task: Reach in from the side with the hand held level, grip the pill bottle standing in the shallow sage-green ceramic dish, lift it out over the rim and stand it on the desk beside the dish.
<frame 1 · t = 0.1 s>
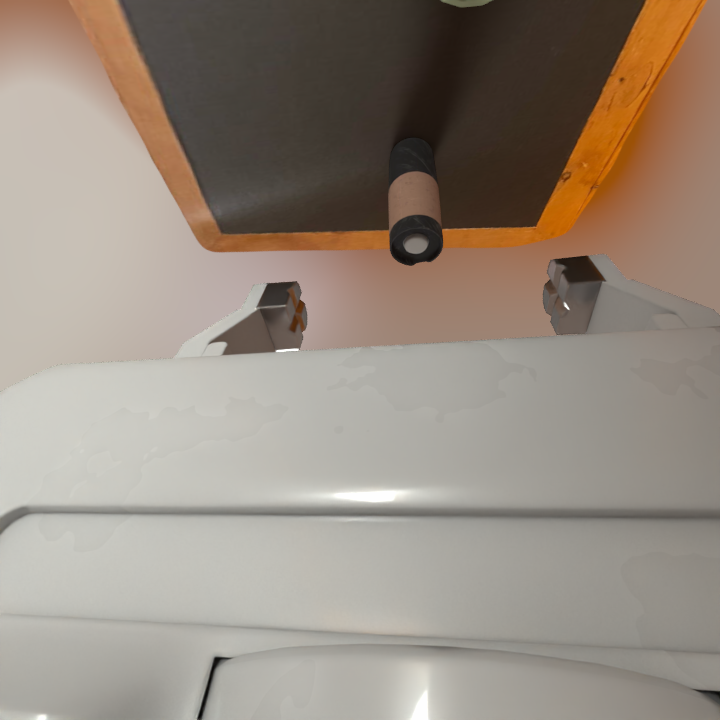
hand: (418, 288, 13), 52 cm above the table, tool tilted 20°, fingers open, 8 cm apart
travel mug: (411, 157, 65), on the table
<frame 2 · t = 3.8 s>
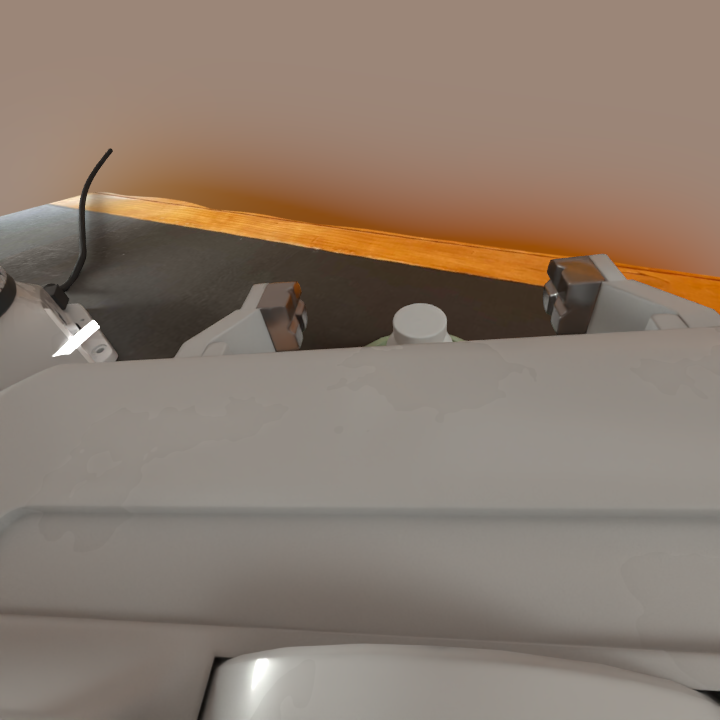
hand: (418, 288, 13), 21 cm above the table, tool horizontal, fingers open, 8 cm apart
pill bottle: (419, 401, 36), resting on dish
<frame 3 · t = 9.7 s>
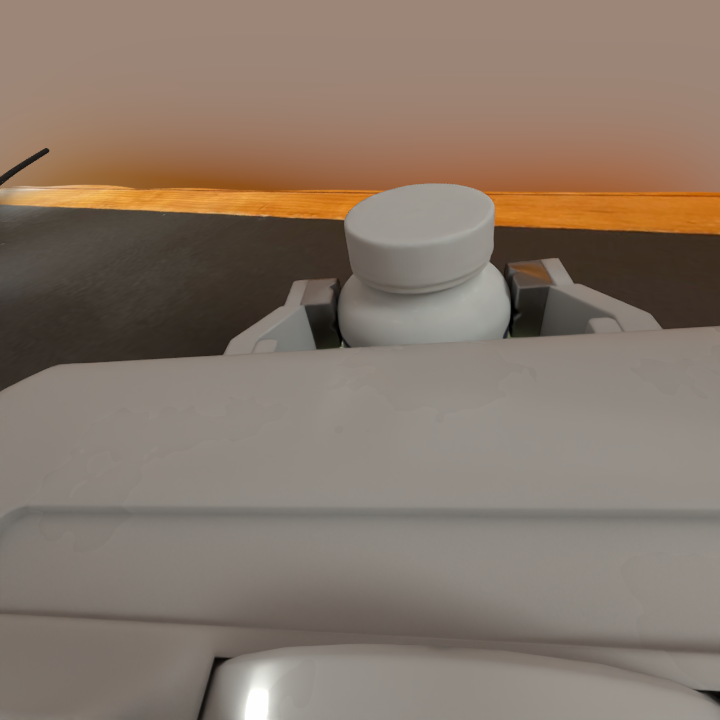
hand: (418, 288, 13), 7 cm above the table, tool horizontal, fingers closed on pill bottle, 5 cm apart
pill bottle: (427, 436, 17), resting on dish, touching gripper
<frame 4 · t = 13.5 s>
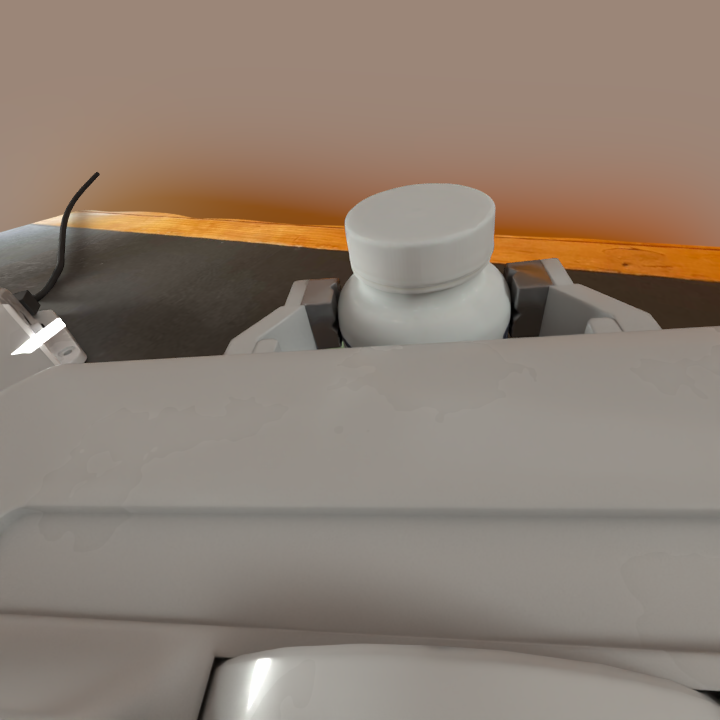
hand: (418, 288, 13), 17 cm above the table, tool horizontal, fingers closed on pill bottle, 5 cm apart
pill bottle: (426, 435, 17), point 10 cm above the table, touching gripper
when the fingers open (7 cm above the table, at t = 17.4 s): pill bottle stays where it is, on the table.
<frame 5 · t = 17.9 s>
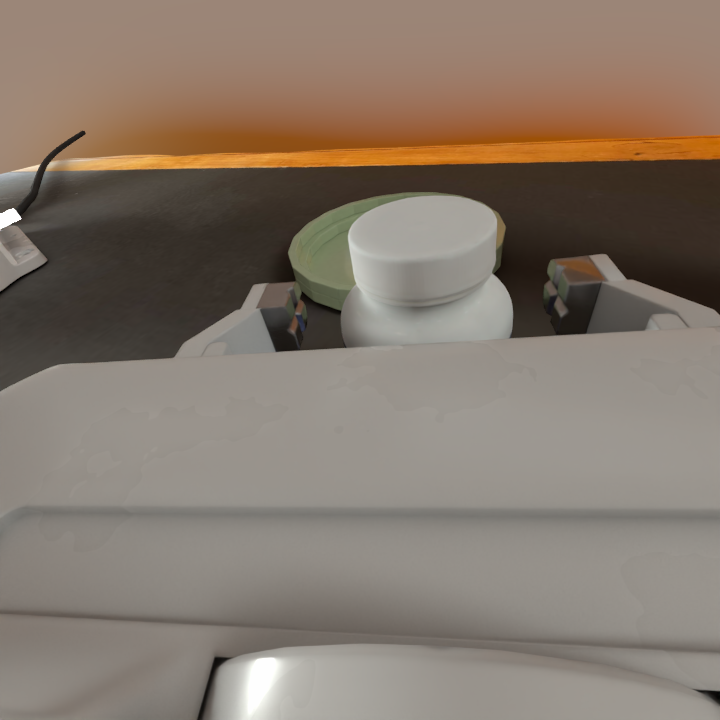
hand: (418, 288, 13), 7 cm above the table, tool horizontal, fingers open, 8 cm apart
dish: (394, 257, 29), on the table
pill bottle: (429, 442, 17), on the table
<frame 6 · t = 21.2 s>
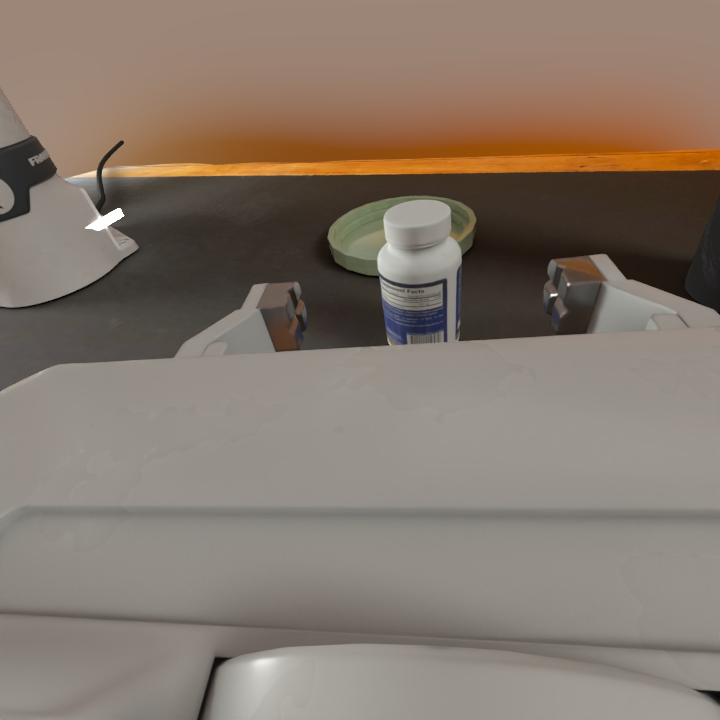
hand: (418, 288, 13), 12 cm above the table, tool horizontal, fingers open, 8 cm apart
dish: (401, 241, 42), on the table
pill bottle: (422, 340, 30), on the table
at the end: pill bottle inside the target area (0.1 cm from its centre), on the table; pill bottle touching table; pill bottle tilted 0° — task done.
